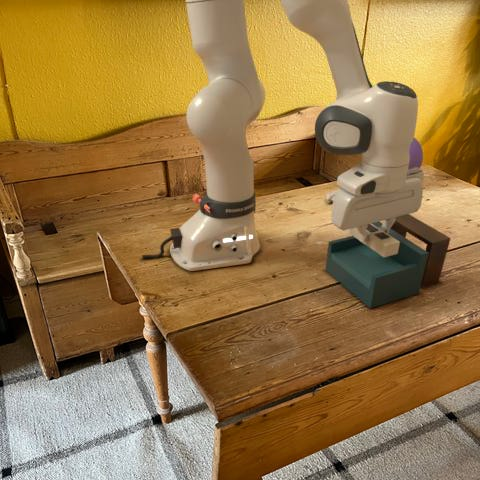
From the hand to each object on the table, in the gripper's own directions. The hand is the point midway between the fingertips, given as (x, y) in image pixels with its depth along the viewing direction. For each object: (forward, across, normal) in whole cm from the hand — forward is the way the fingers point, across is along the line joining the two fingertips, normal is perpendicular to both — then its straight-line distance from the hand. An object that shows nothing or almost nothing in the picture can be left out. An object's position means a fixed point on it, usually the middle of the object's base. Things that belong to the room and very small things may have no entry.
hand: (373, 238), depth 105 cm
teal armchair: (+11, -2, 0) cm, 11 cm away
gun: (+11, -25, -39) cm, 48 cm away
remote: (+1, 0, 0) cm, 1 cm away
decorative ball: (+11, -44, -45) cm, 64 cm away
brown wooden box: (+11, -12, 0) cm, 17 cm away
